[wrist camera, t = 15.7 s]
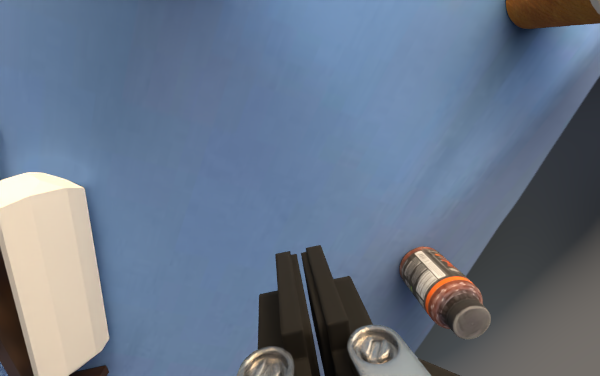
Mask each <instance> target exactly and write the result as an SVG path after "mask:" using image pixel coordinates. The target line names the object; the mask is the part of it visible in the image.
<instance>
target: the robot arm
mask: <svg viewBox="0 0 600 376" xmlns="http://www.w3.org/2000/svg"><path fill="white" fill-rule="evenodd" d="M301 256H302V261H303V267H304V273H305V278H306V284H307V290H308V295H309V301H310V307H311V312H312V318H313V323H314V327H315V332H316V337H317V341H318V346H319V350H320V355H321V360H322V364H323V369H324V374H325V376H460V375H457V374H455V373H452V372H450V371H448V370H445V369H443V368H441V367H438V366H436V365H433V364H431V363H428V362H426V361H424V360H421V359H419V358H417V357H416V356H415V354H414V353H413V352H412V351H411V349H410V348H409V347H408V345H407V344H406V343H405V342H404V340H403V339H402V338H401V337H400V336H399V335H398V334H397V333H396V332H395V331H394V330H392V329H390V328H388V327H385V326H381V325H373V324H372V322H371V320H370V317H369V315H368V313H367V311H366V309H365V307H364V305H363V303H362V300H361V298H360V296H359V294H358V292H357V290H356V288H355V286H354V283H353V281H352V279H351V277H350V276H347V277H342V278H337V279H333V277H332V275H331V272H330V269H329V267H328V264H327V261H326V258H325V256H324V253H323V250H322V248H321V245H319V246H314V247H309V248H306V252H304V253H301ZM276 269H277V283H278V291H273V292H269V293H264V294H260V295H259V326H258V350H256V351H254V352H253V353H251V354H250V355H249V356H248V357H247V358H246V359H245V360H244V361H243V363H242V364H241V366H240V368H239V371H238V374H237V376H320V373H319V367H318V362H317V356H316V351H315V345H314V340H313V334H312V329H311V324H310V319H309V314H308V309H307V304H306V299H305V294H304V289H303V284H302V279H301V274H300V269H299V264H298V259H297V254H294V255H291V254H290V251H288V252H283V253H278V254H276Z"/></svg>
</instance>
